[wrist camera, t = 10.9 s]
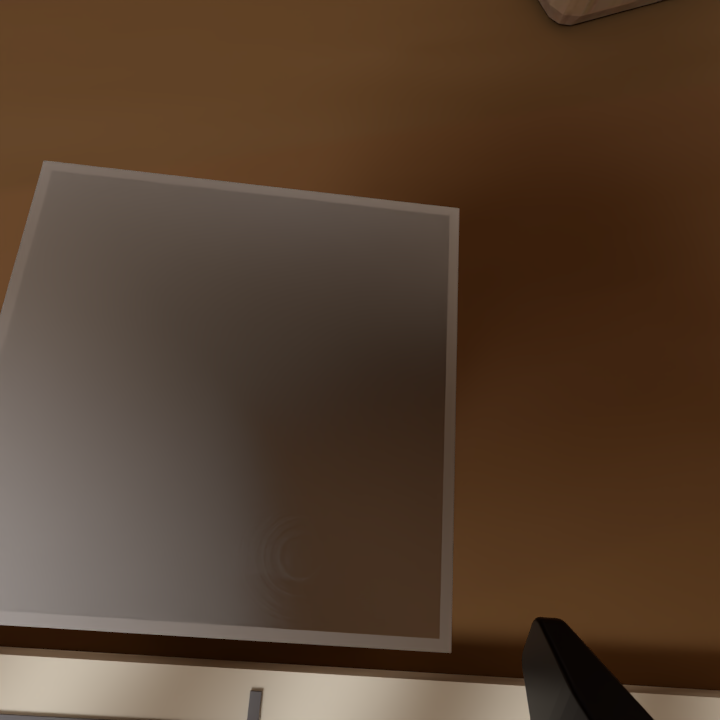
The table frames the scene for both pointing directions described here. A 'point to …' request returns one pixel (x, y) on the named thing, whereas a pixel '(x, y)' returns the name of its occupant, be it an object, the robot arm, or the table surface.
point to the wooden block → (587, 9)
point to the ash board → (273, 691)
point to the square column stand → (229, 413)
